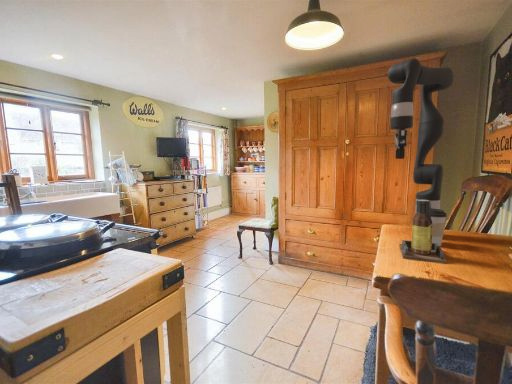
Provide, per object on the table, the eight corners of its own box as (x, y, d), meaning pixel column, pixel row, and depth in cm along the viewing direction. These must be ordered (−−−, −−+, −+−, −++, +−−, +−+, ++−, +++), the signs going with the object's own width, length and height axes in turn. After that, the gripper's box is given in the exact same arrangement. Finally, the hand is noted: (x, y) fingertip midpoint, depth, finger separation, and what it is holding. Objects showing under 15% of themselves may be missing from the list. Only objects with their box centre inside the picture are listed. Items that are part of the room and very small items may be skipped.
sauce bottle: (434, 256, 89) (438, 201, 87) (415, 255, 90) (418, 201, 88) (425, 249, 96) (429, 198, 93) (408, 249, 97) (410, 198, 94)
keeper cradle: (399, 246, 103) (400, 227, 102) (437, 250, 98) (438, 230, 97) (403, 258, 91) (404, 237, 90) (446, 263, 85) (448, 241, 84)
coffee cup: (418, 239, 111) (420, 206, 109) (443, 242, 106) (446, 208, 104) (418, 244, 104) (420, 209, 102) (445, 248, 99) (447, 211, 97)
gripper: (416, 112, 87) (413, 158, 89) (410, 118, 100) (408, 158, 102) (392, 114, 91) (390, 159, 93) (389, 119, 103) (387, 159, 105)
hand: (399, 158), depth 97 cm, fingers open, 8 cm apart
